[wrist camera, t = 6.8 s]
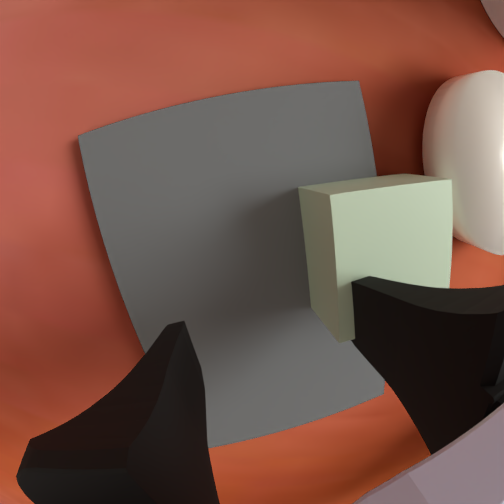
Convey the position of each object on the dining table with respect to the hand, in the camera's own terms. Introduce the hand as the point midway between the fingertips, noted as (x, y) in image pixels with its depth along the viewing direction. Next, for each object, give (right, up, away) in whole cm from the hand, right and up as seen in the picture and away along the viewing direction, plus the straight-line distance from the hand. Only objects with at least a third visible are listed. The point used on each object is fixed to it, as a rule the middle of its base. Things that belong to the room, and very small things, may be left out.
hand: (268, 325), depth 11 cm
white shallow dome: (+11, +7, +3) cm, 14 cm away
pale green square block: (+4, +3, +2) cm, 5 cm away
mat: (0, +1, +2) cm, 3 cm away
